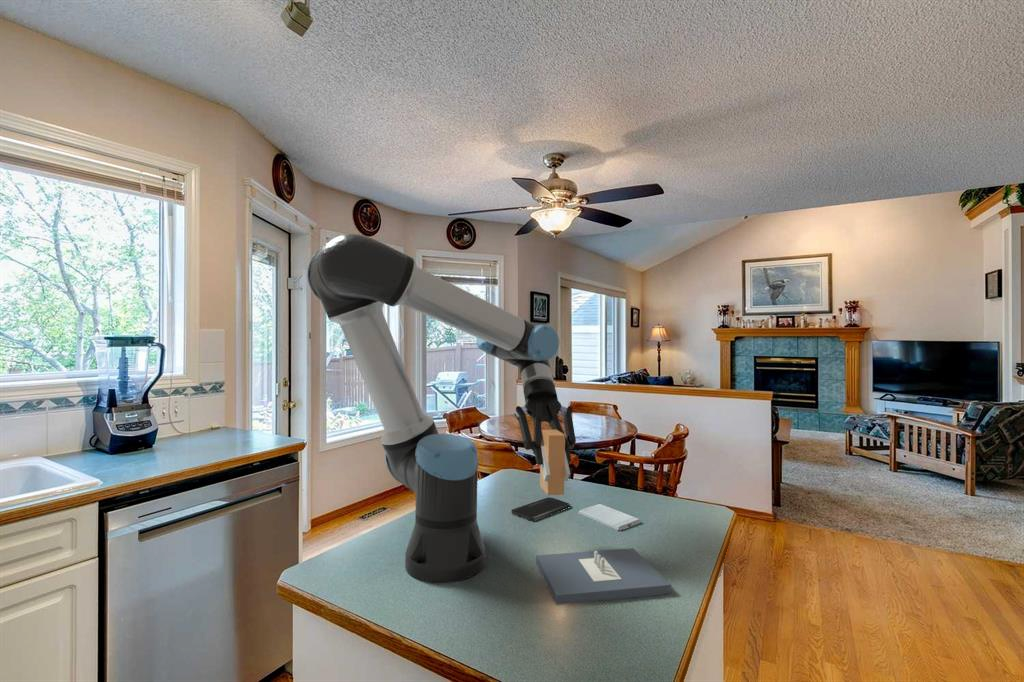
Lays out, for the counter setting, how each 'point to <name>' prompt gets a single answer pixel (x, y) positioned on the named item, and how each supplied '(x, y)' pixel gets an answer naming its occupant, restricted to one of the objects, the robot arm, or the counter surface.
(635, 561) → the header board
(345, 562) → the counter surface
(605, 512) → the hard drive
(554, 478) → the tan rectangular block
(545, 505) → the phone
